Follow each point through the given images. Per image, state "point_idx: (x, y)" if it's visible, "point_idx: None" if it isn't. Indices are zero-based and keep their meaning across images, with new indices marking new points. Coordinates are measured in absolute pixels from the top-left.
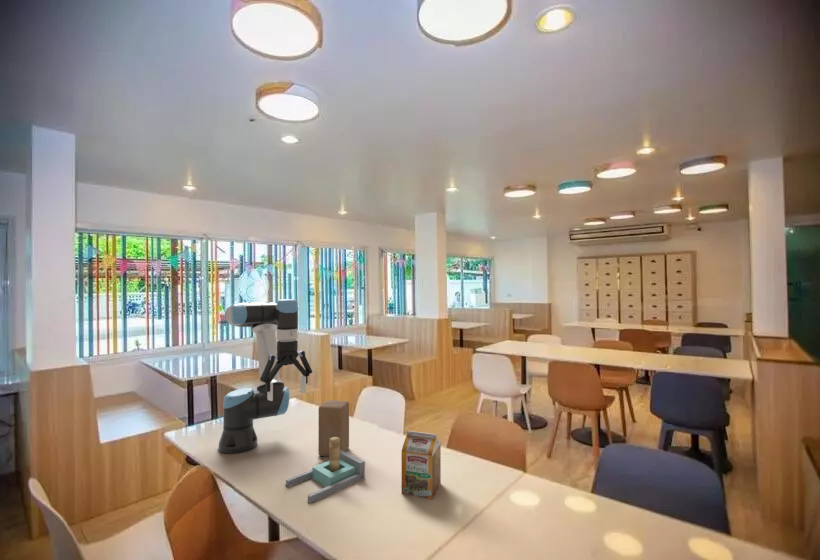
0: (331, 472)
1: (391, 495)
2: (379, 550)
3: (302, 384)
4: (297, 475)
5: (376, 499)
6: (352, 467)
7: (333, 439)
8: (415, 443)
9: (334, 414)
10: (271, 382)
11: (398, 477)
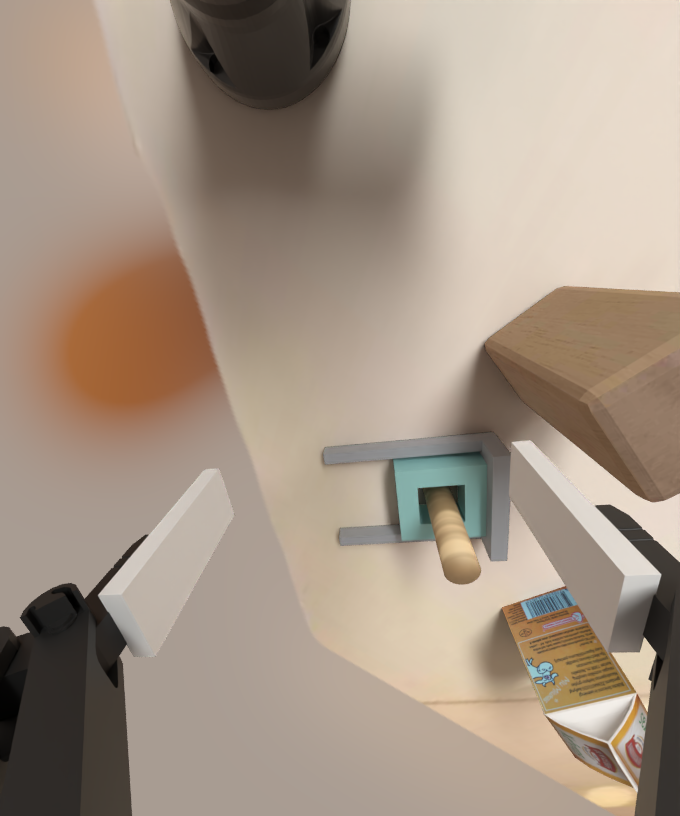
0: (418, 523)
1: (482, 600)
2: (369, 668)
3: (547, 525)
4: (355, 453)
5: (450, 594)
6: (476, 533)
7: (456, 571)
8: (588, 749)
9: (607, 463)
10: (141, 640)
11: (551, 566)
